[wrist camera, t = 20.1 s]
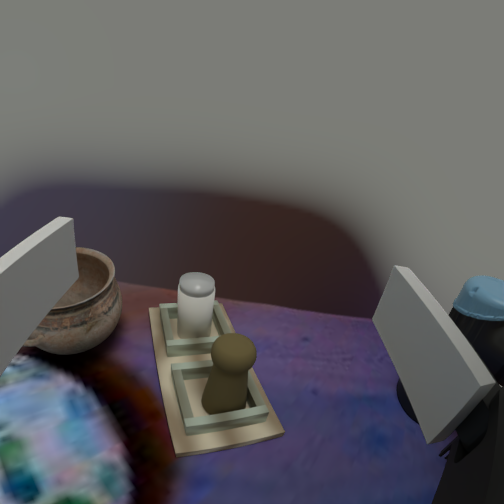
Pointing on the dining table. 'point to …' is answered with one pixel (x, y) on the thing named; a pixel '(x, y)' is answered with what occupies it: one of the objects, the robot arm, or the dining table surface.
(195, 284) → the salt shaker
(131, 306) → the dining table surface
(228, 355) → the pepper mill
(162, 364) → the condiment caddy
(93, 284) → the cooking pot
